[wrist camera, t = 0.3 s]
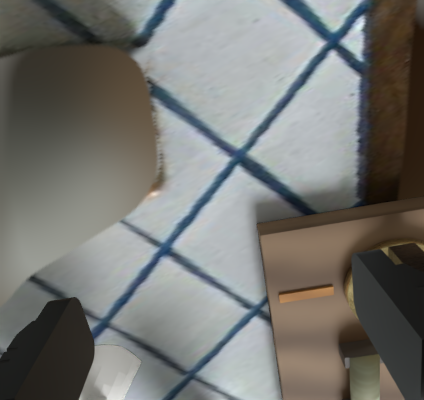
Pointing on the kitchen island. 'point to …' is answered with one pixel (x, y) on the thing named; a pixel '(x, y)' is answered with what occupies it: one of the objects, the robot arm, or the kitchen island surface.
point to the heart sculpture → (110, 373)
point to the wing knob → (399, 253)
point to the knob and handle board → (328, 299)
